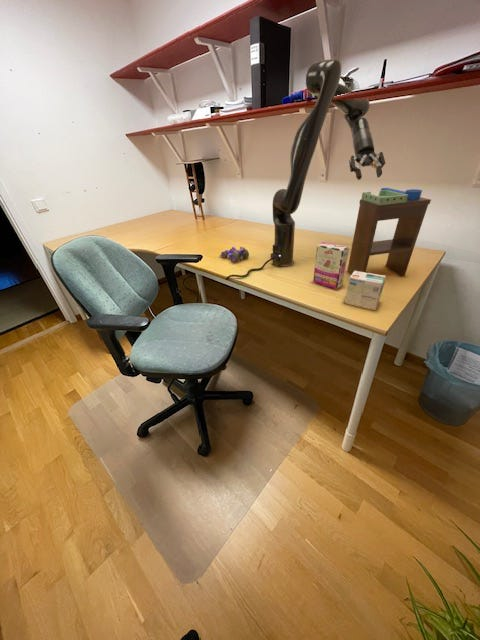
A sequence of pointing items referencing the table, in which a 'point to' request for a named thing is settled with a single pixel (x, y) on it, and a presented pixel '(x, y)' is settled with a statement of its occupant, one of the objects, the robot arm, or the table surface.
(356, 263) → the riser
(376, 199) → the green shallow tray
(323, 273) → the candy bar box
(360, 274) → the light bulb box
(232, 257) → the purple lumpy cluster
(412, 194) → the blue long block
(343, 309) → the table surface
